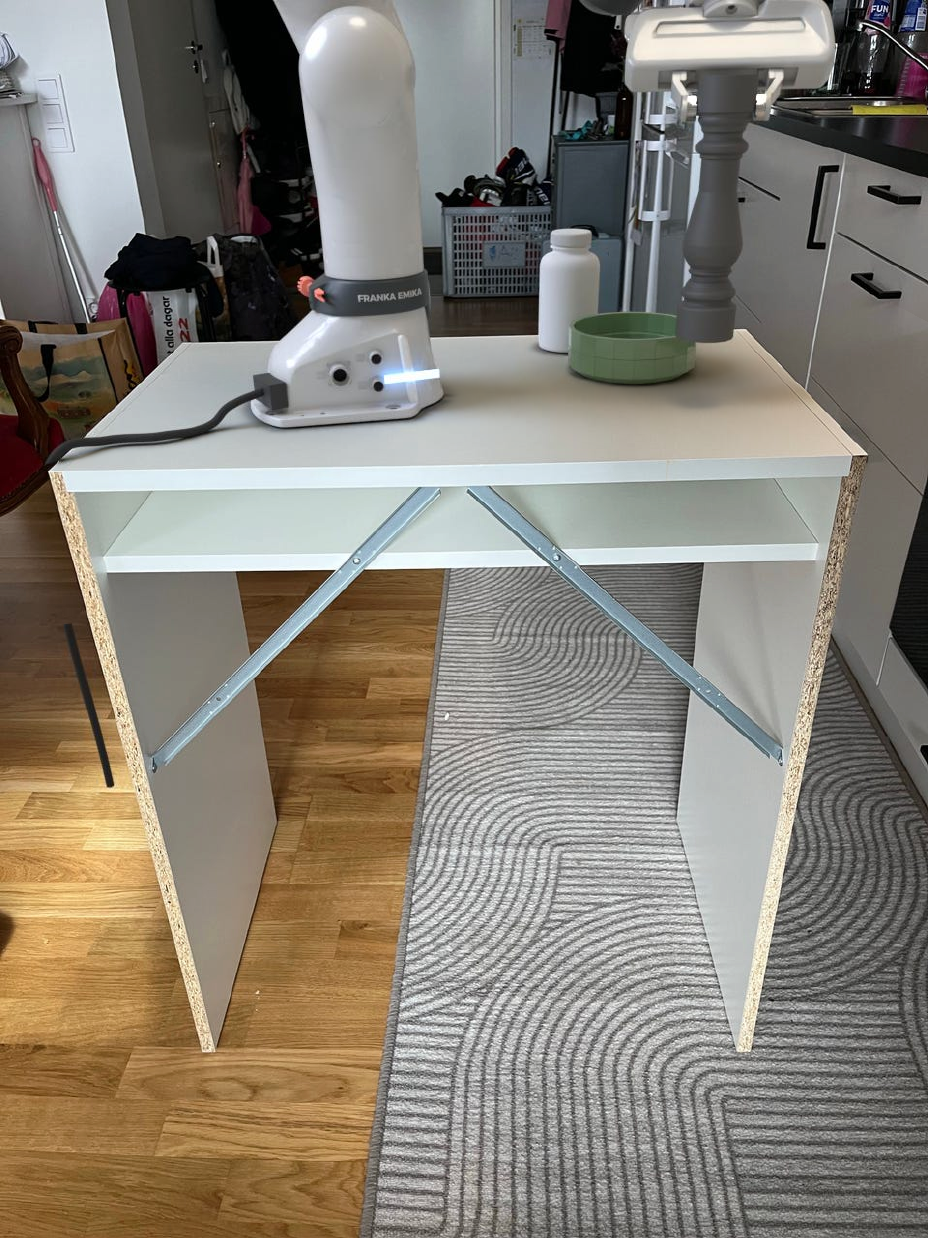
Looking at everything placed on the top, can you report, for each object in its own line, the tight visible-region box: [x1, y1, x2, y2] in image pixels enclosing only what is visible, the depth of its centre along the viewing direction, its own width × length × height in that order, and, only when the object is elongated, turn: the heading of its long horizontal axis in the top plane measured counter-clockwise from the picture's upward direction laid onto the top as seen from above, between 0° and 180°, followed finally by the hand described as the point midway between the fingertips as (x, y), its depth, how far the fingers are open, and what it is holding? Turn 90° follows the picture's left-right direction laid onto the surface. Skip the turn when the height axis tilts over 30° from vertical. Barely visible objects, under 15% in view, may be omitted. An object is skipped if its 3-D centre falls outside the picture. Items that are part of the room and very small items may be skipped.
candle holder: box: [675, 74, 759, 344], centre depth 101 cm, size 6×6×25 cm
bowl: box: [567, 311, 697, 385], centre depth 122 cm, size 16×16×6 cm
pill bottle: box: [538, 228, 601, 354], centre depth 131 cm, size 8×8×15 cm
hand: (725, 116), depth 96 cm, fingers closed on candle holder, 5 cm apart
